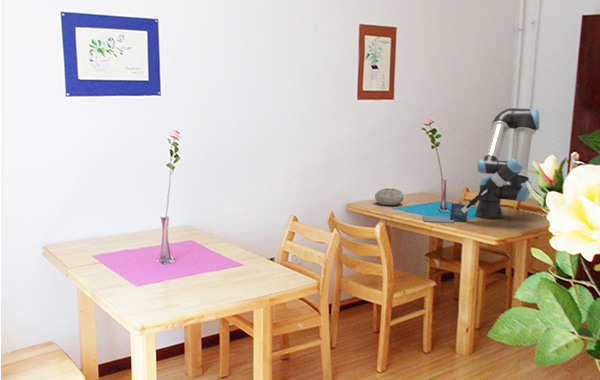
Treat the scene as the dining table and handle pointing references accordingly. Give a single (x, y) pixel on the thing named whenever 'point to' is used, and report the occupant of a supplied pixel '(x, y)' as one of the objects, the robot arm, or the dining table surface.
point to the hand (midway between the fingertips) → (462, 211)
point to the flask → (458, 212)
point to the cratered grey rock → (389, 196)
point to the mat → (437, 219)
